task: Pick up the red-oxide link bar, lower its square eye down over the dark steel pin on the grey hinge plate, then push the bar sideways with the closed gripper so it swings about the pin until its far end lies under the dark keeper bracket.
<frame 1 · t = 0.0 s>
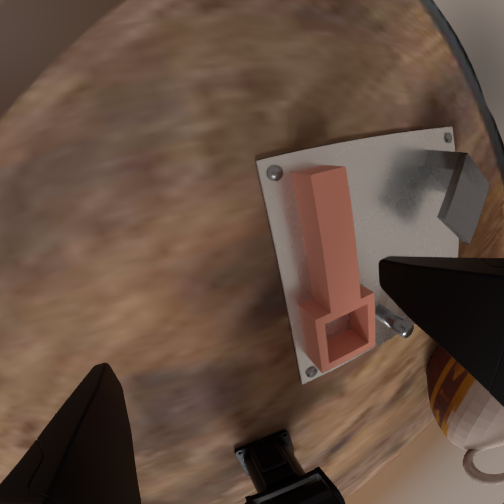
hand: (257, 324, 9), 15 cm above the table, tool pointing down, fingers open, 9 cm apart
jug: (439, 360, 40), on the table
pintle: (378, 310, 31), resting on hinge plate
keeper: (425, 208, 30), resting on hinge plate
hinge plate: (390, 248, 29), on the table
link: (312, 193, 24), resting on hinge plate
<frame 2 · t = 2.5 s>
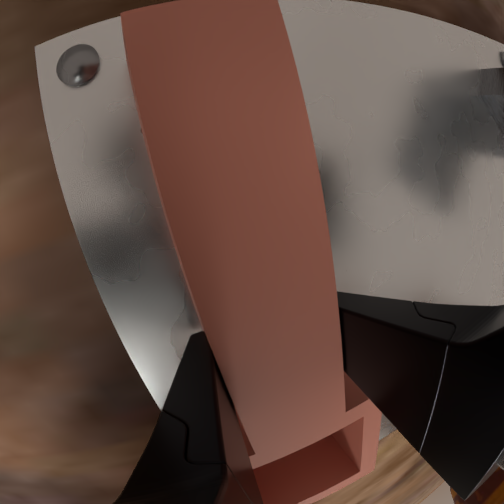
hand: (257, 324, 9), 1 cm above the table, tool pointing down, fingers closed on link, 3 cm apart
jug: (467, 421, 23), on the table
keeper: (483, 182, 13), resting on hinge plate
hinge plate: (421, 265, 12), on the table
link: (196, 113, 8), resting on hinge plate, touching gripper
when the fingers open (2 cm above the table, at t = 5.6 s): link drops 1 cm, resting on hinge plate.
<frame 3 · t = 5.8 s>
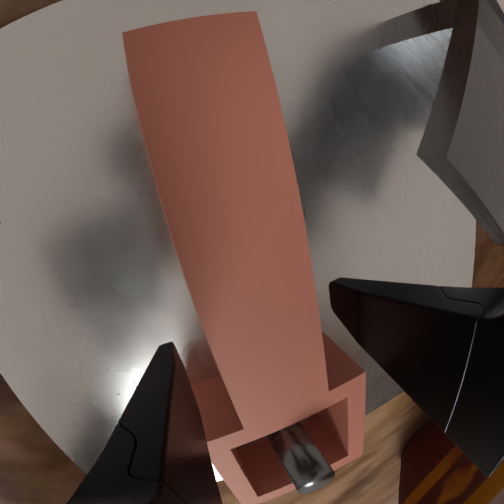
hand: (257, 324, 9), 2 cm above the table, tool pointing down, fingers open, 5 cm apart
jug: (425, 438, 22), on the table
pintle: (268, 404, 13), resting on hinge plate
keeper: (393, 157, 12), resting on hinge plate
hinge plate: (284, 261, 11), on the table
link: (190, 117, 9), resting on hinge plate
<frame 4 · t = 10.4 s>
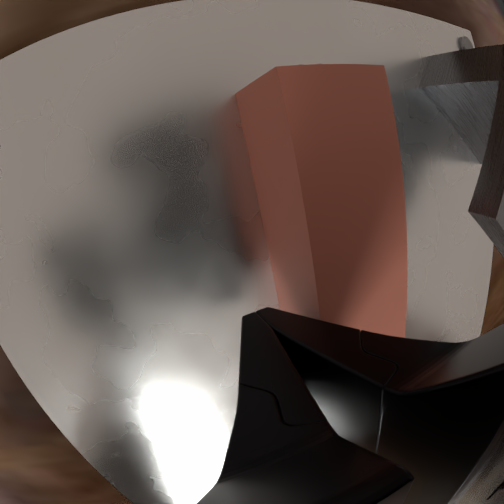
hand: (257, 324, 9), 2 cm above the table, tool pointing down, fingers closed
keeper: (428, 193, 12), resting on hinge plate
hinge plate: (332, 295, 12), on the table
link: (294, 149, 9), resting on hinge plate, touching gripper
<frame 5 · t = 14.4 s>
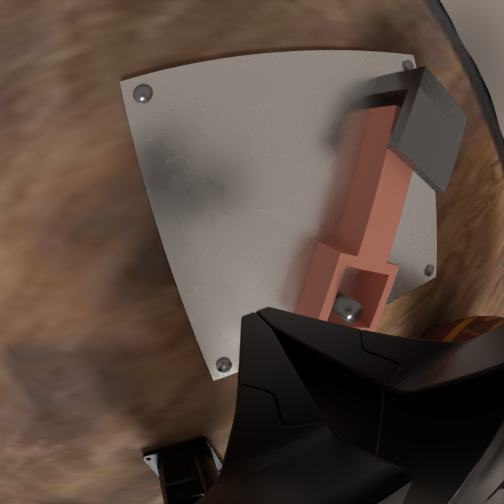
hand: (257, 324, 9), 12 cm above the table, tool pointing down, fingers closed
jug: (419, 359, 33), on the table
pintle: (318, 287, 24), resting on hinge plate
keeper: (380, 150, 23), resting on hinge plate
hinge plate: (328, 199, 22), on the table
link: (378, 139, 22), resting on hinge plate, touching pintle
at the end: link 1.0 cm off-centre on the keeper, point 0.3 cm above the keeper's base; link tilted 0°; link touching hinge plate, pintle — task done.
